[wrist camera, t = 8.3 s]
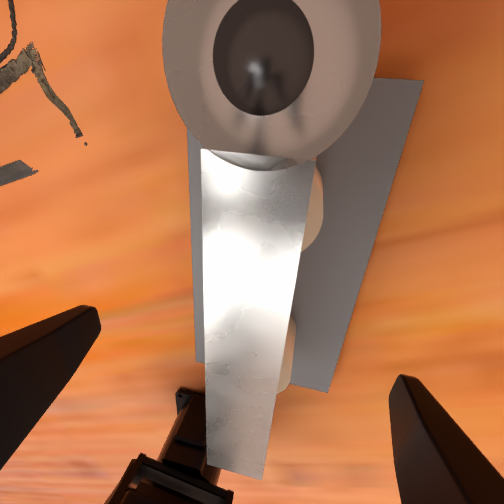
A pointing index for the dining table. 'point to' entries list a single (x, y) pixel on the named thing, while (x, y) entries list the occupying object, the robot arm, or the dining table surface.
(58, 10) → the dining table surface
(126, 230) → the dining table surface
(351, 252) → the tool rack
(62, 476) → the dining table surface
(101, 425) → the dining table surface
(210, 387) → the spanner
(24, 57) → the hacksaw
